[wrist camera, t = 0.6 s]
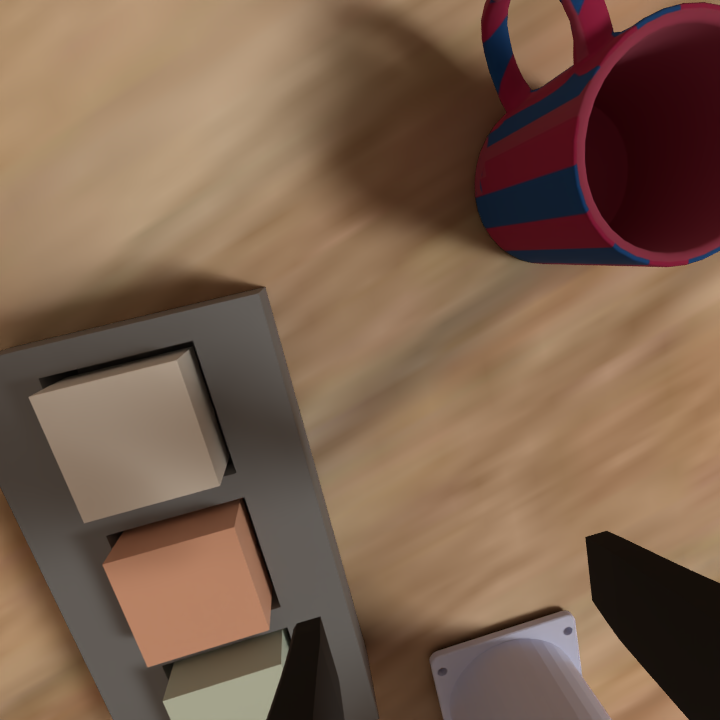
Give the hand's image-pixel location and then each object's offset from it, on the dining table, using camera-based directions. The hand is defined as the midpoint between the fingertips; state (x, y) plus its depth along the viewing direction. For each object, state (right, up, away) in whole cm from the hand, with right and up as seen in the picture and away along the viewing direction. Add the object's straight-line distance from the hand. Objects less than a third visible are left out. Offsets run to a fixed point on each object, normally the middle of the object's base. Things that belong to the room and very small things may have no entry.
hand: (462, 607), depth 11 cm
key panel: (-9, -1, +9) cm, 13 cm away
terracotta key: (-9, -1, +6) cm, 11 cm away
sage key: (-8, -7, +8) cm, 13 cm away
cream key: (-10, +4, +5) cm, 12 cm away
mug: (+4, +15, +7) cm, 17 cm away
